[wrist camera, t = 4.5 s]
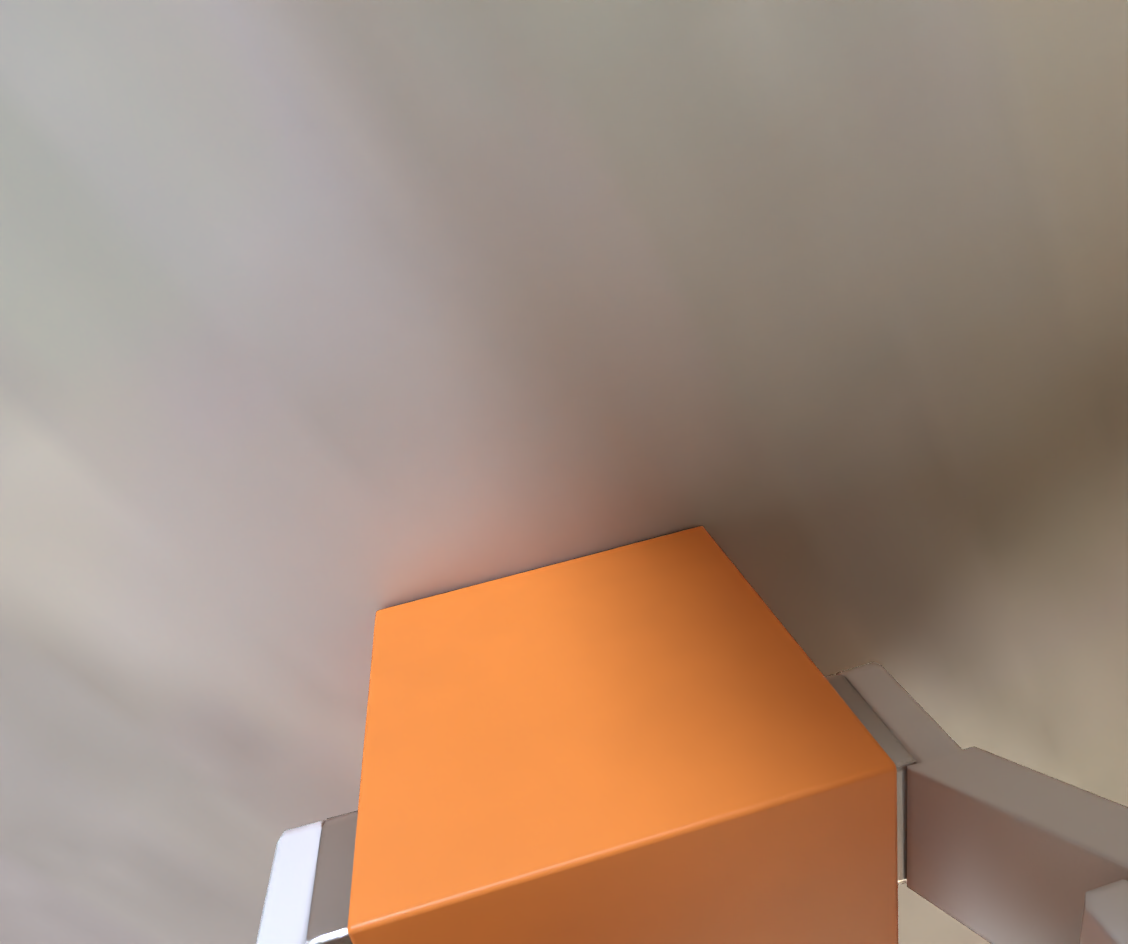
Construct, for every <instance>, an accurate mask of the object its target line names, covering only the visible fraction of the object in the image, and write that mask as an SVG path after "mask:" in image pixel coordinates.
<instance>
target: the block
mask: <svg viewBox="0 0 1128 944" xmlns="http://www.w3.org/2000/svg"><path fill="white" fill-rule="evenodd" d="M347 932H348V934H349V937H350V939H351V941H352V943H353V944H898V876H897V769H896V765H895V763H894V762H893V761H892V760H891V758H890V757H889V756H888V755H887V753H886V752H885V751H884V750H883V748H882V747H881V746H880V745H879V743H878V742H877V741H876V740H875V739H874V737H873V736H872V735H871V734H870V732H869V731H868V730H867V729H866V727H865V726H864V725H863V724H862V722H861V721H860V720H859V719H858V717H857V716H856V715H855V714H854V713H853V711H852V710H851V709H850V708H849V706H848V705H847V704H846V703H845V701H844V700H843V699H842V698H841V696H840V695H839V694H838V693H837V692H836V690H835V689H834V688H833V687H832V685H831V684H830V683H829V682H828V680H827V679H826V678H825V677H824V675H823V674H822V673H821V672H820V670H819V669H818V668H817V667H816V666H815V664H814V663H813V662H812V661H811V659H810V658H809V657H808V656H807V654H806V653H805V652H804V651H803V649H802V648H801V647H800V646H799V644H798V643H797V642H796V641H795V640H794V638H793V637H792V636H791V635H790V633H789V632H788V631H787V630H786V628H785V627H784V626H783V625H782V623H781V622H780V621H779V620H778V619H777V617H776V616H775V615H774V614H773V612H772V611H771V610H770V609H769V607H768V606H767V605H766V604H765V602H764V601H763V600H762V599H761V597H760V596H759V595H758V594H757V593H756V591H755V590H754V589H753V588H752V586H751V585H750V584H749V583H748V581H747V580H746V579H745V578H744V576H743V575H742V574H741V573H740V571H739V570H738V569H737V568H736V567H735V565H734V564H733V563H732V562H731V560H730V559H729V558H728V557H727V555H726V554H725V553H724V552H723V550H722V549H721V548H720V547H719V546H718V544H717V543H716V542H715V541H714V539H713V538H712V537H711V536H710V534H709V533H708V532H707V531H706V529H705V528H704V527H703V526H699V527H695V528H691V529H687V530H684V531H680V532H676V533H672V534H668V535H664V536H661V537H657V538H653V539H649V540H645V541H641V542H638V543H634V544H630V545H626V546H622V547H619V548H615V549H611V550H607V551H603V552H599V553H596V554H592V555H588V556H584V557H580V558H577V559H573V560H569V561H565V562H561V563H557V564H554V565H550V566H546V567H542V568H538V569H534V570H531V571H527V572H523V573H519V574H515V575H512V576H508V577H504V578H500V579H496V580H492V581H489V582H485V583H481V584H477V585H473V586H469V587H466V588H462V589H458V590H454V591H450V592H447V593H443V594H439V595H435V596H431V597H427V598H424V599H420V600H416V601H412V602H408V603H404V604H401V605H397V606H393V607H389V608H385V609H382V610H378V611H377V612H376V617H375V628H374V639H373V650H372V661H371V672H370V683H369V694H368V705H367V717H366V728H365V739H364V750H363V761H362V772H361V783H360V794H359V805H358V816H357V827H356V838H355V849H354V860H353V871H352V882H351V893H350V904H349V916H348V927H347Z"/></svg>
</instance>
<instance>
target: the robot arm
mask: <svg viewBox="0 0 1128 944" xmlns="http://www.w3.org/2000/svg"><path fill="white" fill-rule="evenodd" d="M825 678H826V679H827V680H828V682H829V683H830V684H831V685H832V687H833V688H834V689H835V690H836V692H837V693H838V694H839V695H840V696H841V698H842V699H843V700H844V701H845V703H846V704H847V705H848V706H849V708H850V709H851V710H852V711H853V713H854V714H855V715H856V716H857V717H858V719H859V720H860V721H861V722H862V724H863V725H864V726H865V727H866V729H867V730H868V731H869V732H870V734H871V735H872V736H873V737H874V739H875V740H876V741H877V742H878V743H879V745H880V746H881V747H882V748H883V750H884V751H885V752H886V753H887V755H888V756H889V757H890V758H891V760H892V761H893V762H894V763H895V765H896V769H897V876H898V885H899V884H903V883H906V882H907V887H908V888H910V889H911V890H913V891H914V892H916V893H917V894H919V895H920V896H922V897H923V898H925V899H926V900H928V901H929V902H931V903H932V904H934V905H935V906H937V907H938V908H940V909H941V910H943V911H944V912H946V913H947V914H948V915H950V916H951V917H953V918H954V919H956V920H957V921H959V922H960V923H962V924H963V925H965V926H966V927H968V928H969V929H971V930H972V931H974V932H975V933H977V934H978V935H980V936H981V937H983V938H984V939H986V940H987V941H989V942H990V943H991V944H1128V807H1126V806H1123V805H1121V804H1118V803H1116V802H1113V801H1111V800H1108V799H1106V798H1103V797H1101V796H1098V795H1095V794H1093V793H1090V792H1088V791H1085V790H1083V789H1080V788H1078V787H1075V786H1073V785H1070V784H1068V783H1065V782H1063V781H1060V780H1058V779H1055V778H1053V777H1050V776H1047V775H1045V774H1042V773H1040V772H1037V771H1035V770H1032V769H1030V768H1027V767H1025V766H1022V765H1020V764H1017V763H1015V762H1012V761H1010V760H1007V759H1005V758H1002V757H1000V756H997V755H994V754H992V753H989V752H987V751H984V750H982V749H979V748H977V747H971V748H967V749H963V750H962V749H961V748H960V747H959V745H958V744H957V743H956V742H955V741H954V740H953V739H952V738H951V737H950V736H949V735H948V734H947V733H946V732H945V731H944V730H943V729H942V728H941V727H940V726H939V725H938V724H937V723H936V721H935V720H934V719H933V718H932V717H931V716H930V715H929V714H928V713H927V712H926V711H925V710H924V709H923V708H922V707H921V706H920V705H919V704H918V703H917V702H916V701H915V700H914V699H913V698H912V696H911V695H910V694H909V693H908V692H907V691H906V690H905V689H904V688H903V687H902V686H901V685H900V684H899V683H898V682H897V681H896V680H895V679H894V678H893V677H892V676H891V675H890V674H889V672H888V671H887V670H886V669H885V668H884V667H883V666H882V665H879V664H877V663H875V662H871V663H868V664H865V665H862V666H858V667H855V668H852V669H848V670H845V671H842V672H838V673H837V674H836V675H829V676H826V677H825ZM357 816H358V811H354V812H350V813H346V814H343V815H339V816H335V817H331V818H327V820H324V821H320V822H316V823H312V824H308V825H304V826H300V827H296V828H292V829H288V830H285V831H284V832H283V834H282V836H281V837H280V839H279V841H278V842H277V845H276V850H275V855H274V860H273V864H272V869H271V874H270V879H269V884H268V888H267V893H266V898H265V903H264V907H263V912H262V917H261V922H260V926H259V931H258V936H257V941H256V944H353V943H352V941H351V939H350V937H349V934H348V932H347V927H348V916H349V904H350V893H351V882H352V871H353V860H354V849H355V838H356V827H357Z"/></svg>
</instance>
